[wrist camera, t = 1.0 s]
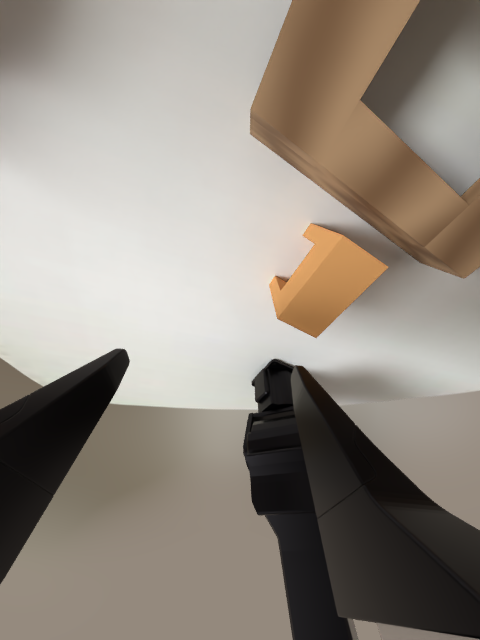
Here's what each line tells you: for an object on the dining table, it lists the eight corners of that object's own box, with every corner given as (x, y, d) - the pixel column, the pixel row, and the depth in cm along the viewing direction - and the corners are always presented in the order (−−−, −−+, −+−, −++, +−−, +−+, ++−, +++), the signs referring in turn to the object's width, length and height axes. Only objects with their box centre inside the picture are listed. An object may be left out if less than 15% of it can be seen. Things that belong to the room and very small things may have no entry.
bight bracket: (342, 245, 18) (388, 267, 12) (297, 300, 21) (316, 338, 15) (310, 223, 17) (343, 235, 11) (269, 284, 20) (277, 318, 15)
